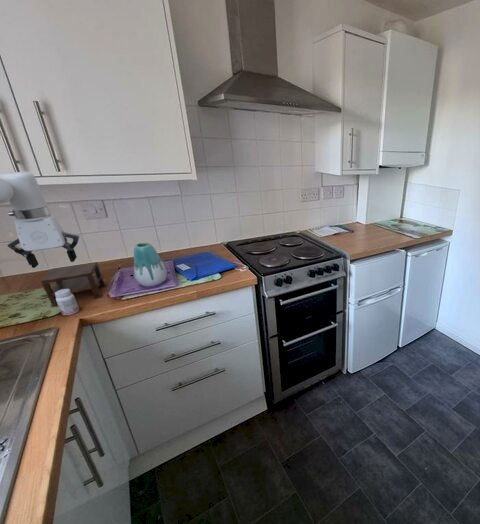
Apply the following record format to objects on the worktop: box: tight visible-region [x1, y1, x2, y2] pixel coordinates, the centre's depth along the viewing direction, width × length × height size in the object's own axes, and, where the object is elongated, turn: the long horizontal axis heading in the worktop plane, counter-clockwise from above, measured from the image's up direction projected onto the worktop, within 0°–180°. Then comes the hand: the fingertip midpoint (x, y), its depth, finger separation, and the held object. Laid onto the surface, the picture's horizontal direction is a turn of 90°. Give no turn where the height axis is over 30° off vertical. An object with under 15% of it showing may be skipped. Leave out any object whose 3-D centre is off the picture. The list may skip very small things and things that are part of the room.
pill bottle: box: [55, 289, 80, 316], centre depth 105 cm, size 5×5×8 cm
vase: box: [133, 242, 168, 288], centre depth 124 cm, size 12×12×18 cm
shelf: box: [40, 261, 106, 307], centre depth 116 cm, size 14×12×11 cm
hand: (54, 263), depth 100 cm, fingers open, 9 cm apart
